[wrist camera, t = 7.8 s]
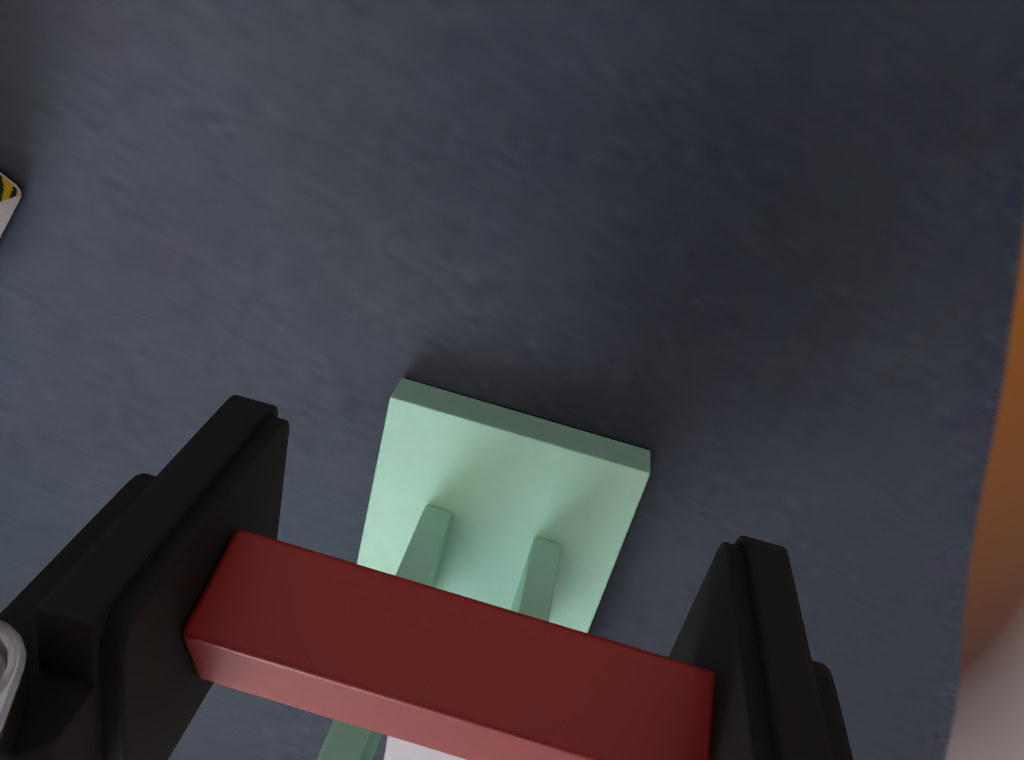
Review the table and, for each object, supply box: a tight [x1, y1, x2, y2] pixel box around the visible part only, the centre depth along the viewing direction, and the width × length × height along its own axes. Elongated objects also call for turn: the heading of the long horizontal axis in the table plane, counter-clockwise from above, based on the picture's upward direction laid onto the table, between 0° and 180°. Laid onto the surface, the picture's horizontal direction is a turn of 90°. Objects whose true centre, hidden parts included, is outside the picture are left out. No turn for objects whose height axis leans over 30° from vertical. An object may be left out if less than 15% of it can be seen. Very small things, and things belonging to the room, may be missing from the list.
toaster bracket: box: [317, 378, 650, 760], centre depth 25 cm, size 12×9×15 cm
